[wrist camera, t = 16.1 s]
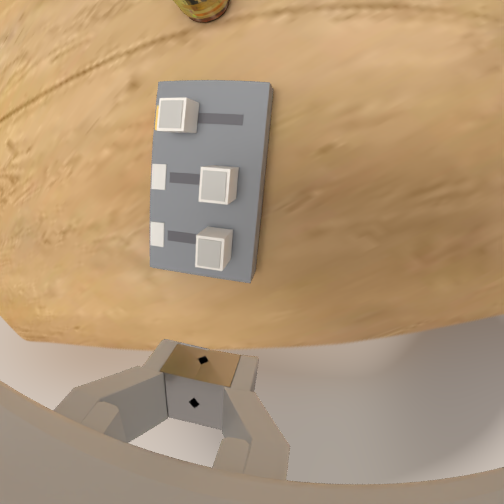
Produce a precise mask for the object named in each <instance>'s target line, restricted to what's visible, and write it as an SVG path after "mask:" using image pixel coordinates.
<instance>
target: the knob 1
mask: <svg viewBox="0 0 504 504" xmlns="http://www.w3.org/2000/svg"><path fill="white" fill-rule="evenodd" d="M198 111H199V103H198V102H196V101H194V100H191V99H189V98H160V99H159V109H158V120H157V131H163V132H172V133H197V121H198Z"/></svg>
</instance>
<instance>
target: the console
mask: <svg viewBox="0 0 504 504" xmlns="http://www.w3.org/2000/svg"><path fill="white" fill-rule="evenodd" d="M160 98H189V99H191V100H194V101H196V102H198V103H199V111H198V121H197V133H172V132H163V131H157V120H158V109H159V99H160ZM272 99H273V88H272V86H271V84H270V83H269V82H253V81H225V80H191V81H163V82H159V83H158V92H157V101H156V112H155V123H154V135H153V150H152V167H151V190H150V267H152V268H158V269H164V270H170V271H176V272H182V273H188V274H194V275H200V276H207V277H213V278H219V279H226V280H232V281H239V282H245V283H251V281H252V278H253V276H254V274H255V271H256V261H257V251H258V242H259V232H260V222H261V212H262V202H263V192H264V182H265V171H266V161H267V151H268V141H269V130H270V120H271V110H272ZM210 165H216V166H228V167H239V170H238V182H237V193H236V199H235V200H234V201H232V202H231V203H229V204H228V205H226V204H217V203H208V202H199V185H200V171H201V167H203V166H210ZM207 226H208V227H216V228H224V229H232V230H233V237H232V250H231V260H230V261H229V262H228V264H227V265H226V267H225V268H224V270H223V271H218V270H211V269H205V268H198V267H195V255H196V235H197V234H198V233H200V232H201V231H202V230H204V229H205V228H206V227H207Z"/></svg>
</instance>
